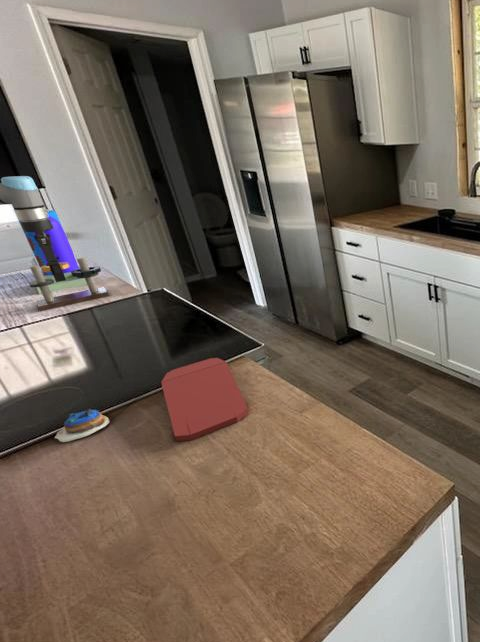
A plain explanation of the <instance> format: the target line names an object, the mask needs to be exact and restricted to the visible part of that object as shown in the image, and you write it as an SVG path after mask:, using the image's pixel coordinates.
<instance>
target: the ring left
mask: <svg viewBox="0 0 480 642" xmlns="http://www.w3.org/2000/svg"><path fill="white" fill-rule="evenodd" d="M59 264H60V267H61V269H66V268H69V267H70V266H69V264H68V262H60V263H59ZM40 269H42V270H41V272H42V271H43V272H51V269H50V267H49V266H46V265H45V266H42V267H41V268H40ZM43 272H42V273H43Z"/></svg>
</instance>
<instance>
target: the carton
mask: <svg viewBox="0 0 480 642" xmlns="http://www.w3.org/2000/svg"><path fill="white" fill-rule="evenodd" d="M160 383H161V386H162V387H161V388H162V392H163V395H164V399H165V403H166V407H167V411H168V414H169V419H170V423H171V428H172V430H173V435H174V438H175V440H176V442H182V441H183V442H184V441H192V440H195V439H198V438H200V437H203V436H205V435H208V434H211V433H213V432H215V431H218V430H220V429H222V428H225V427H229V426H231V425H233V424H235V423H238V422H239V421H241V420H242V419H244V418H245V417H246V416H248V414H250V413H249V408H248V406H247V403H246V402H245V399H244V398H243V395H242V393H241V390H240V388H239V386H238V384H237V382H236V380H235V377H234V375H233V373H232V371H231V369H230V366H229V364H228V362H227V361H226V360H223V359H221V358H219V357H211V358H207V359H204V360H200V361H197V362H194V363H191V364H187V365H184V366H181V367H177V368H175V369H171V370H170V371H168V372H166V374H165V375H164V377H163V378H162V380H161V382H160Z"/></svg>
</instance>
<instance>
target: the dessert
mask: <svg viewBox="0 0 480 642" xmlns="http://www.w3.org/2000/svg"><path fill="white" fill-rule="evenodd" d="M110 422H111V420H110V418H109V417H107V416H106V415H103V414H102V413H101V412H100V411H99V410H96V409H91V408H88V409H87V410H84V411H81V412H74V413H70V414H69V417H68V418H67V419H66V420H65V421H64V422H63V428H62V429H59V430H58V432H56V435H55V436H54V439H57V440H58V441H59V442H61V443H68V442H72V441H75V440H78V439H82V438H85V437H87V436H88V437H89V436H90V435H91V434H93V433H95V432H98V431H99V430H101V429H104V428H105V427H106V426H107V425H108V424H110Z"/></svg>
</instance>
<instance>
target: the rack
mask: <svg viewBox="0 0 480 642" xmlns="http://www.w3.org/2000/svg"><path fill="white" fill-rule="evenodd" d="M76 262H77V264H78V267H79V268H81V270H82V271H87V270H90V269H89V267H90V266H89V265H88V261H87V260H86V258H85V257H78V258H76ZM29 268H30V271H31V273H32V275H33V277H34V281H31V282H29V284H28V285H29V288H36V287H39V288H40V290H41V292H42V294H41V295H42V296H43V299H39V300H36V304H37V308H38V311H39V312H44V311H48V310H53V309H56V308H57V309H58V308H62V307H63V308H64V307H67V306H71V305H75V304H80V303H85V302H89V301H93V300H98V299H103V298H108V297H110V295H109V292H108V290H107V289H106V288H105V286H100V287H98V286H97V284H96V282H95V280H94V277H96V276H98V275H99V274H100V272H98V273H96V274H92V275H87V276H80V277H77V278H80V279H81V278H85V280H86V282H87V285H86V286H87V287H88V289H87V290H86V289H85V290H81V291H76V292H72V293H68V294H67V293H66V294H62V295H57V296H53V294H52V292H51V291H50V289H49V287H48V285H50V284H53V283H54V280H53V279H45V278H44V277H45V275H44V274H43V272H42V270H41V268H40V266H39V264H33V265H31V266H29ZM35 279H36V281H35Z"/></svg>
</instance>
